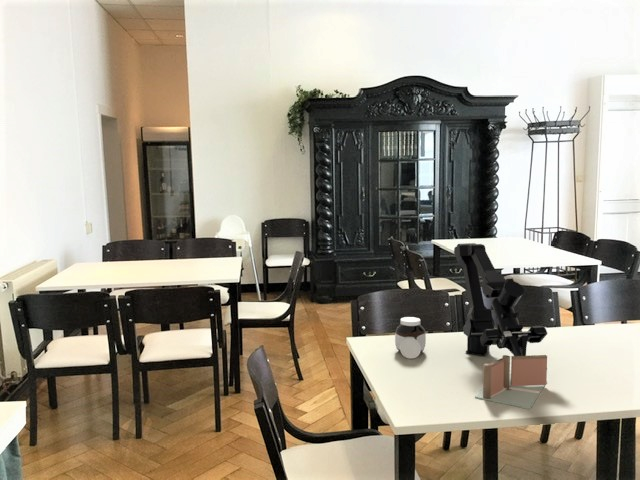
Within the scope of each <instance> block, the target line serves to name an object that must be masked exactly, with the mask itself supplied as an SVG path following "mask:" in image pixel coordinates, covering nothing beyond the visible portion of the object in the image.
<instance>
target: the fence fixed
mask: <svg viewBox="0 0 640 480" xmlns="http://www.w3.org/2000/svg"><path fill="white" fill-rule="evenodd" d="M482 377H483V378H482V380H483V381H482V388H483V398H485V399H490V398H491V396H492V395H494V394H496V393H498V392H500V391H502V390H503V382H504V359H502V358H499V359H497V360H495V361H492V362H490V363H484V364H483V376H482ZM509 387H511V386H509ZM507 390H512V389H507Z"/></svg>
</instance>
